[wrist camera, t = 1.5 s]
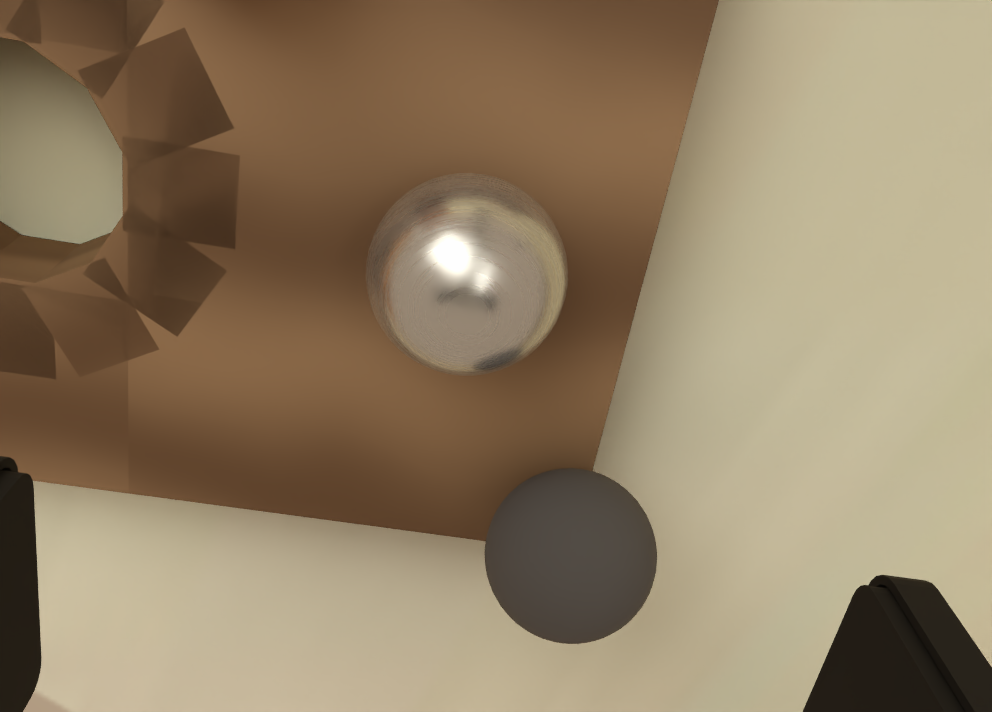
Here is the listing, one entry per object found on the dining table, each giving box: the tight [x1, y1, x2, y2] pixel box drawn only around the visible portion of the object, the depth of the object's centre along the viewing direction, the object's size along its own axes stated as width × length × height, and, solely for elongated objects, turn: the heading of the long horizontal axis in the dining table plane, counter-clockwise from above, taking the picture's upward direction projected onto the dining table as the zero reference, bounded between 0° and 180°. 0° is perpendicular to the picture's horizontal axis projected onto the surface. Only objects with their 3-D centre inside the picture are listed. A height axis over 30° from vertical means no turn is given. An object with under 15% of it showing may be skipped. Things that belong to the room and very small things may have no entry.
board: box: [0, 0, 719, 541], centre depth 21 cm, size 16×19×2 cm
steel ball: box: [366, 173, 568, 376], centre depth 18 cm, size 4×4×4 cm
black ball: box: [485, 468, 657, 644], centre depth 21 cm, size 4×4×4 cm
